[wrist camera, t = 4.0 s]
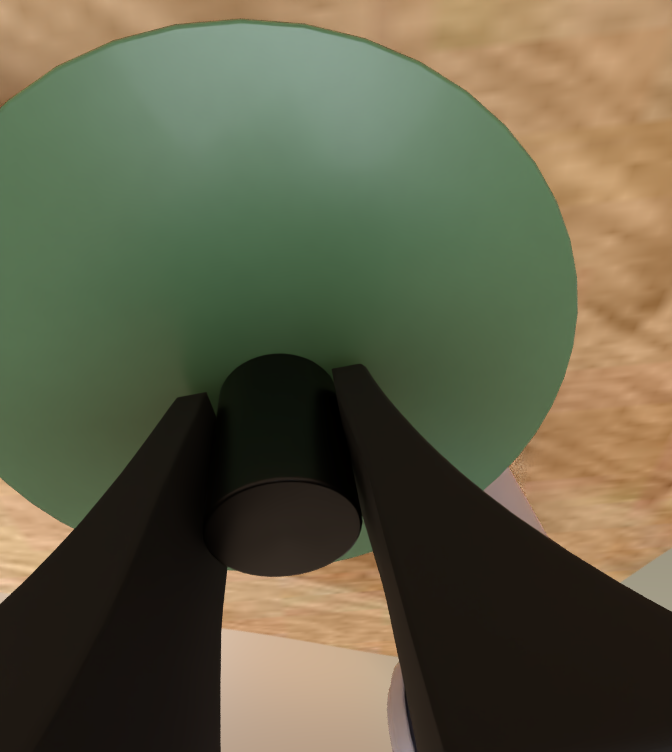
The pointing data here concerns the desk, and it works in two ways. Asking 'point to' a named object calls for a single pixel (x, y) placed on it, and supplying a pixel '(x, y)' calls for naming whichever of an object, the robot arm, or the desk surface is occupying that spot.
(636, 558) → the desk surface
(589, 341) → the desk surface
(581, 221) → the desk surface
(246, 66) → the lid
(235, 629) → the desk surface
